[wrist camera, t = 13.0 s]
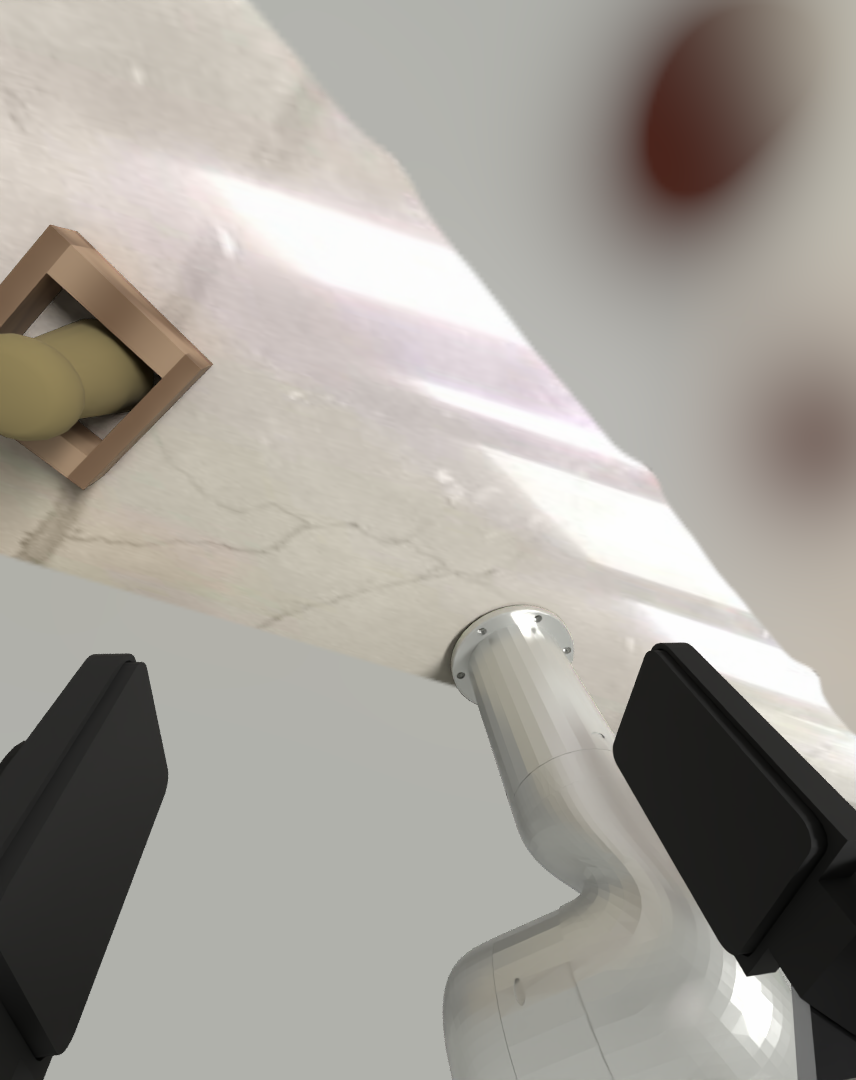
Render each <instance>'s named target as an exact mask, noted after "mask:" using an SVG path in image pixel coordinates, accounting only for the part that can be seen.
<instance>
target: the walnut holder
mask: <svg viewBox="0 0 856 1080" xmlns="http://www.w3.org/2000/svg"><path fill="white" fill-rule="evenodd" d="M62 288H64V289H65V290H66V291H67V292H68V293H69V294H70V295H72V296H73V297H74V298H75V299H76V300H77V301H78V302H79V303H80V304H81V305H83V306H84V307H85V308H86V309H87V310H88V311H89V312H90V313H91V314H92V315H93V316H95V317H96V318H97V319H98V320H99V321H100V322H101V323H102V324H103V325H104V326H106V327H107V328H108V329H109V330H110V331H111V332H112V333H113V334H114V335H115V336H117V337H118V338H119V339H120V340H121V341H122V342H123V343H124V344H125V345H126V346H127V347H129V348H130V349H131V350H132V351H133V352H134V353H135V354H136V355H137V356H138V357H140V358H141V359H142V360H143V361H144V362H145V363H146V364H147V365H148V366H149V367H150V368H152V369H153V370H154V371H155V372H156V373H157V374H158V375H159V376H160V377H161V378H162V379H161V380H160V381H159V382H158V383H157V384H156V385H155V386H154V387H153V388H152V389H151V391H150V392H149V393H148V394H147V395H146V396H145V397H144V398H143V399H142V400H141V401H140V402H139V403H138V404H137V405H136V406H135V407H134V408H133V409H132V410H131V411H130V412H129V413H128V414H127V415H126V416H125V418H124V419H123V420H122V421H121V422H120V423H119V424H118V425H117V426H116V427H115V428H114V429H113V430H112V431H111V432H110V433H109V434H108V435H107V436H106V437H105V438H104V439H103V440H101V439H100V438H99V437H97V436H96V435H95V434H94V433H92V432H91V431H90V430H89V429H87V428H86V427H85V426H84V425H82V424H81V423H80V422H79V421H77V422H76V423H75V424H74V425H73V426H72V427H71V428H70V429H69V430H68V431H67V432H65V433H63V434H61V435H58V436H56V437H53V438H51V439H48V440H37V441H21V440H16V439H15V440H16V441H18V442H19V443H20V444H22V445H23V446H25V447H26V448H27V449H29V450H30V451H31V452H33V453H34V454H35V455H37V456H38V457H39V458H41V459H42V460H43V461H45V462H46V463H48V464H49V465H50V466H52V467H53V468H54V469H56V470H57V471H58V472H60V473H61V474H62V475H64V476H65V477H66V478H68V479H69V480H71V481H72V482H73V483H75V484H76V485H77V486H79V487H80V488H81V489H83V490H84V489H85V488H87V487H88V486H90V485H91V484H92V483H94V482H95V481H97V480H98V479H100V478H101V477H102V476H104V475H105V474H106V473H107V472H108V471H109V470H110V469H111V468H112V467H113V466H114V465H115V463H116V462H117V461H118V460H119V459H120V458H121V457H122V456H123V455H124V454H125V453H126V452H127V451H128V450H129V449H130V448H131V447H132V446H133V445H134V444H135V443H136V442H137V441H138V440H139V439H140V438H141V437H142V436H143V435H144V434H145V433H146V432H147V431H148V430H149V429H150V428H151V427H152V426H153V425H154V424H155V423H156V422H157V421H158V420H159V419H160V418H161V417H162V416H163V415H164V414H165V413H166V412H167V411H168V410H169V409H170V408H171V407H172V406H173V405H174V404H175V403H176V402H177V400H178V399H179V398H180V397H181V396H182V395H183V394H184V393H185V392H186V391H187V390H188V389H189V388H190V387H191V386H192V385H193V384H194V383H195V382H196V381H197V380H198V379H199V378H200V377H201V376H202V375H203V374H204V373H205V372H206V371H207V370H208V369H209V368H210V367H211V366H212V365H213V364H212V363H211V362H210V361H209V360H208V359H207V358H206V357H205V356H204V355H203V354H202V353H201V352H200V351H199V350H198V349H197V348H196V347H195V346H194V345H193V344H192V343H191V342H190V341H189V340H188V339H187V338H186V337H185V336H184V335H183V334H182V333H181V332H180V331H179V330H178V329H177V328H176V327H174V326H173V325H172V324H171V323H170V322H169V321H168V320H167V319H166V318H165V317H164V316H163V315H162V314H161V313H160V312H159V311H158V310H157V309H156V308H155V307H154V306H153V305H152V304H151V303H150V302H149V301H148V300H147V299H146V298H145V297H144V296H143V295H142V294H141V293H140V292H139V291H138V290H137V289H136V288H135V287H134V286H133V285H132V284H130V283H129V282H128V281H127V280H126V279H125V278H124V277H123V276H122V275H121V274H120V273H119V272H118V271H117V270H116V269H115V268H114V267H113V266H112V265H111V264H110V263H109V262H108V261H107V260H106V259H105V258H104V257H103V256H102V255H101V254H100V253H99V252H98V251H97V250H96V249H95V248H94V247H93V246H92V245H91V244H90V243H89V242H88V241H86V240H85V239H84V238H83V237H82V236H81V235H80V234H79V233H78V232H77V231H73V230H69V229H65V228H61V227H57V226H54V225H49V227H48V228H47V229H46V230H45V231H44V233H43V234H42V235H41V236H40V237H39V239H38V240H37V241H36V242H35V243H34V245H33V246H32V247H31V248H30V249H29V251H28V252H27V253H26V254H25V255H24V257H23V258H22V259H21V260H20V261H19V263H18V264H17V265H16V266H15V268H14V269H13V270H12V271H11V272H10V274H9V275H8V276H7V277H6V278H5V280H4V281H3V282H2V283H1V284H0V334H7V333H15V334H19V335H23V333H24V332H25V331H26V330H27V329H28V328H29V327H30V325H31V324H32V323H33V322H34V321H35V320H36V318H37V317H38V316H39V315H40V314H41V313H42V311H43V310H44V309H45V308H46V307H47V306H48V305H49V303H50V302H51V301H52V300H53V299H54V298H55V296H56V295H57V294H58V293H59V292H60V291H61V289H62Z"/></svg>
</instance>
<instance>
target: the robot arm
mask: <svg viewBox="0 0 856 1080" xmlns="http://www.w3.org/2000/svg"><path fill="white" fill-rule="evenodd" d="M573 656H574V642H573V639H572V636H571V633H570V631H569V630H568V628H567V627H566V625H565V624H564V623H563V622H562V620H561V619H560V618H559V617H558V616H556V615H555V614H553V613H552V612H550V611H548V610H546V609H543V608H541V607H535V606H530V605H516V606H509V607H504V608H501V609H498V610H495V611H492V612H490V613H488V614H486V615H484V616H482V617H481V618H479V619H478V620H477V621H475V622H474V623H472V624H471V625H470V626H469V627H468V628H467V629H466V630H465V631H464V632H463V634H462V635H461V637H460V638H459V639H458V641H457V643H456V645H455V647H454V649H453V653H452V657H451V671H452V675H453V679H454V682H455V684H456V687H457V688H458V690H459V691H460V692H461V694H462V695H463V696H464V697H466V698H467V699H468V700H469V701H471V702H473V703H475V704H477V705H478V707H479V710H480V713H481V716H482V720H483V722H484V726H485V729H486V732H487V735H488V738H489V741H490V745H491V748H492V751H493V754H494V757H495V760H496V764H497V767H498V770H499V773H500V776H501V779H502V782H503V786H504V789H505V792H506V795H507V798H508V801H509V804H510V807H511V810H512V814H513V817H514V820H515V823H516V826H517V829H518V832H519V834H520V836H521V839H522V841H523V843H524V844H525V846H526V847H527V849H528V850H529V852H530V853H531V855H532V856H533V857H534V858H535V860H536V861H537V862H538V863H539V864H540V865H542V867H543V868H545V869H546V870H547V871H548V872H550V873H551V874H552V875H553V876H555V877H556V878H557V879H559V880H560V881H562V882H563V883H565V884H566V885H568V886H569V887H571V888H572V889H574V890H576V891H577V892H578V893H580V895H579V896H578V897H577V898H576V899H574V900H572V901H570V902H568V903H566V904H564V905H562V906H561V907H560V908H559V909H558V910H556V911H553V912H551V913H549V914H546V915H544V916H542V917H540V918H537V919H535V920H533V921H531V922H529V923H527V924H524V925H522V926H519V927H517V928H515V929H513V930H511V931H508V932H506V933H504V934H502V935H499V936H497V937H495V938H493V939H491V940H489V941H486V942H485V943H482V944H481V945H479V946H477V947H475V948H473V949H472V950H470V951H469V952H467V953H466V954H465V955H464V956H463V957H462V958H461V959H460V960H459V961H458V962H457V963H456V964H455V966H454V967H453V969H452V971H451V973H450V975H449V977H448V980H447V983H446V987H445V991H444V998H443V1030H444V1038H445V1046H446V1052H447V1057H448V1062H449V1066H450V1071H451V1076H452V1080H856V810H855V809H854V808H853V807H852V806H851V805H850V804H849V803H848V802H847V801H846V800H845V799H844V798H843V797H842V796H841V795H840V794H839V793H838V792H837V791H836V790H835V789H834V788H833V787H832V786H831V785H830V784H829V783H828V782H827V781H826V780H825V779H824V778H823V777H822V776H821V775H820V774H819V773H818V772H817V771H816V770H815V769H814V768H813V767H812V766H811V765H810V764H809V763H808V762H807V761H806V760H805V759H804V758H803V757H802V756H801V755H800V754H799V753H798V752H797V751H796V750H795V749H794V748H793V747H792V746H791V745H790V744H789V743H788V742H787V741H786V740H785V739H784V738H783V737H782V736H781V735H780V734H779V733H778V732H777V731H776V730H775V729H774V728H773V727H772V726H771V725H770V724H769V723H768V722H767V721H766V720H765V719H764V718H763V717H762V716H761V715H760V714H759V713H758V712H757V711H756V710H755V709H754V708H753V707H752V706H751V705H750V704H749V703H748V702H747V701H746V700H745V699H744V698H743V697H742V696H741V695H740V694H739V693H738V692H737V691H736V690H735V689H734V688H733V687H732V686H731V685H730V684H729V683H728V682H727V681H726V680H725V679H724V678H723V677H722V676H721V675H720V674H719V673H718V672H717V671H716V670H715V669H714V668H713V667H712V666H711V665H710V664H709V663H708V662H707V661H706V660H705V659H704V658H703V657H702V656H701V655H700V654H699V653H698V652H697V651H696V650H695V649H694V648H693V647H692V646H691V645H689V644H687V643H658V644H656V645H655V646H653V648H652V650H651V651H648V652H647V653H646V655H645V657H644V660H643V662H642V665H641V668H640V671H639V673H638V676H637V679H636V682H635V685H634V687H633V690H632V693H631V696H630V699H629V701H628V704H627V707H626V710H625V712H624V715H623V718H622V721H621V724H620V726H619V729H618V732H617V735H616V737H615V735H614V734H613V732H612V730H611V729H610V727H609V726H608V724H607V722H606V721H605V719H604V717H603V716H602V714H601V712H600V711H599V709H598V708H597V706H596V704H595V703H594V701H593V699H592V698H591V696H590V694H589V693H588V691H587V690H586V688H585V686H584V685H583V683H582V681H581V680H580V678H579V677H578V675H577V673H576V672H575V670H574V668H573V667H572V665H571V664H572V661H573ZM167 782H168V768H167V764H166V758H165V754H164V749H163V744H162V739H161V735H160V729H159V725H158V720H157V715H156V710H155V705H154V700H153V695H152V690H151V686H150V681H149V676H148V671H147V667H146V665H145V663H143V662H136V660H135V657H134V656H133V655H132V654H93V655H91V656H89V657H88V658H87V659H86V661H85V662H84V663H83V664H82V666H81V667H80V669H79V670H78V671H77V672H76V674H75V675H74V676H73V678H72V679H71V680H70V682H69V683H68V685H67V686H66V687H65V689H64V690H63V691H62V693H61V694H60V696H59V697H58V698H57V700H56V701H55V702H54V704H53V705H52V706H51V708H50V709H49V710H48V712H47V713H46V714H45V716H44V717H43V718H42V720H41V721H40V722H39V724H38V725H37V726H36V728H35V729H34V731H33V732H32V733H31V734H30V736H29V737H28V739H27V740H26V741H23V742H21V743H20V744H18V745H16V746H15V747H14V748H13V749H12V750H11V751H10V752H9V753H8V754H7V755H6V756H5V758H4V759H3V760H2V762H1V763H0V1080H43V1079H44V1076H45V1074H46V1071H47V1068H48V1066H49V1064H50V1061H51V1058H52V1056H54V1055H60V1054H62V1053H63V1052H64V1051H65V1050H66V1048H67V1047H68V1045H69V1043H70V1042H71V1040H72V1037H73V1035H74V1033H75V1030H76V1028H77V1025H78V1023H79V1020H80V1018H81V1015H82V1012H83V1010H84V1007H85V1004H86V1001H87V999H88V996H89V994H90V991H91V988H92V986H93V983H94V980H95V978H96V975H97V972H98V969H99V967H100V964H101V962H102V959H103V957H104V954H105V951H106V949H107V946H108V943H109V941H110V938H111V935H112V933H113V930H114V927H115V924H116V922H117V919H118V917H119V914H120V911H121V909H122V906H123V903H124V901H125V898H126V896H127V893H128V890H129V888H130V885H131V882H132V880H133V877H134V874H135V872H136V869H137V866H138V864H139V861H140V858H141V856H142V853H143V850H144V848H145V845H146V842H147V840H148V837H149V835H150V832H151V829H152V827H153V824H154V821H155V819H156V816H157V813H158V811H159V808H160V805H161V803H162V800H163V797H164V795H165V792H166V788H167ZM779 967H781V969H782V971H783V972H784V974H785V975H786V977H787V978H788V980H789V981H790V983H791V990H790V988H789V985H788V983H787V981H786V979H785V978H784V976H783V975H782V973H781V971H780V970H779Z"/></svg>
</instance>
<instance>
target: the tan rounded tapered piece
mask: <svg viewBox="0 0 856 1080" xmlns="http://www.w3.org/2000/svg"><path fill="white" fill-rule="evenodd" d="M153 374H154V372H153V369H152V368H150V367H149V366H148V365H147V364H146V363H145V362H144V361H143V360H142V359H141V358H140V357H138V356H137V355H136V354H135V353H134V352H133V351H132V350H131V349H130V348H129V347H127V346H126V345H125V344H124V343H123V342H122V341H121V340H120V339H119V338H118V337H117V336H115V335H114V334H113V333H112V332H111V331H110V330H109V329H108V328H107V327H106V326H104V325H103V324H102V323H101V322H100V321H99V320H98V319H81V320H79V321H76V322H73V323H71V324H68V325H66V326H63V327H61V328H58V329H56V330H53V331H50V332H48V333H45V334H43V335H40V336H38V337H35V338H30V337H27V336H23V335H19V334H15V333H7V334H0V435H2V436H4V437H6V438H11V439H16V440H21V441H37V440H48V439H51V438H53V437H56V436H58V435H61V434H63V433H65V432H67V431H68V430H69V429H70V428H71V427H72V426H73V425H74V424H75V423H76V422H77V421H78V420H79V419H81V418H87V417H94V416H101V415H107V414H114V413H121V412H127V411H129V410H131V409H133V408H134V407H135V406H136V405H137V404H138V403H139V402H140V401H141V400H142V399H143V398H144V397H145V396H146V395H147V394H148V393H149V392H150V391H151V389H152V387H153Z"/></svg>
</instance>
